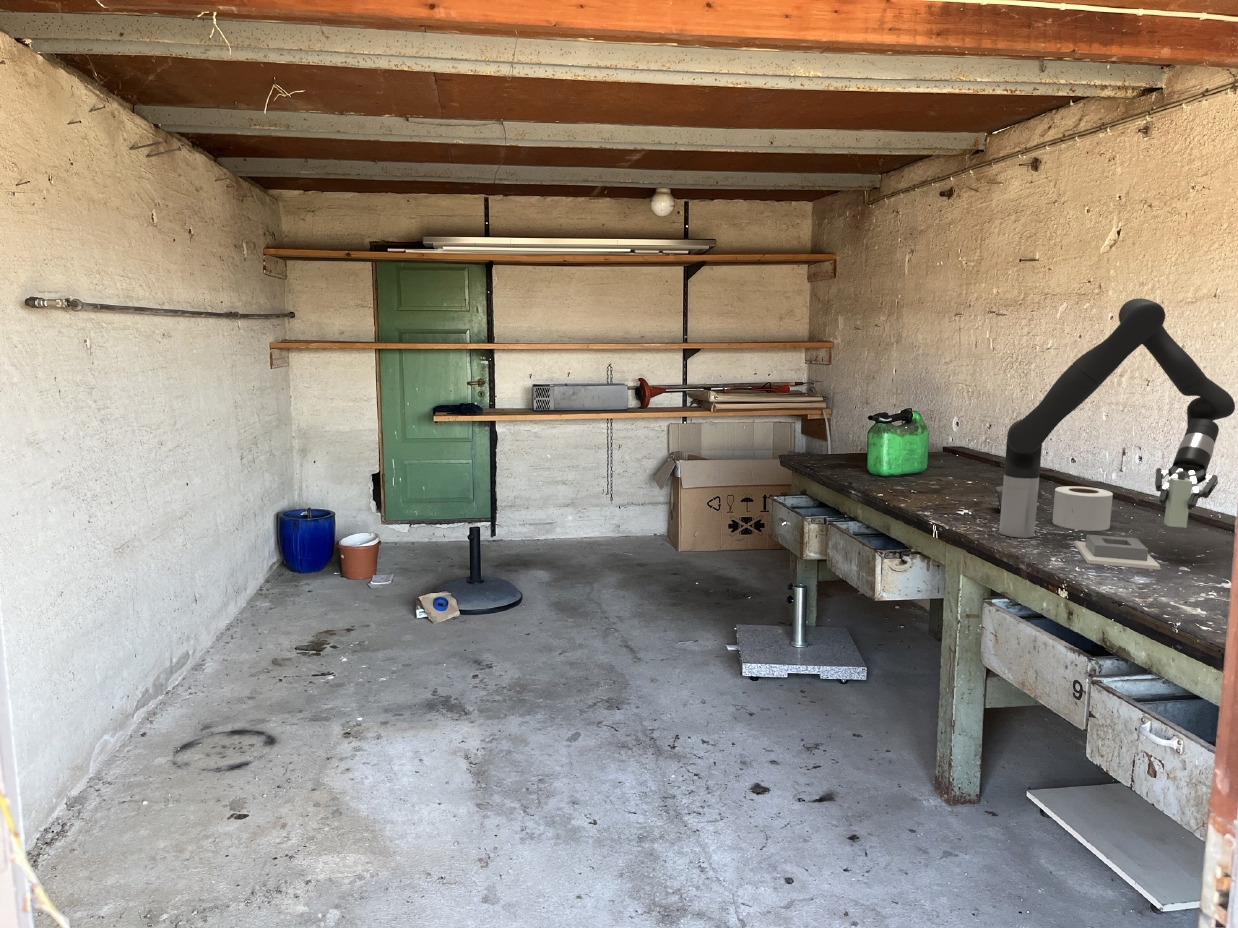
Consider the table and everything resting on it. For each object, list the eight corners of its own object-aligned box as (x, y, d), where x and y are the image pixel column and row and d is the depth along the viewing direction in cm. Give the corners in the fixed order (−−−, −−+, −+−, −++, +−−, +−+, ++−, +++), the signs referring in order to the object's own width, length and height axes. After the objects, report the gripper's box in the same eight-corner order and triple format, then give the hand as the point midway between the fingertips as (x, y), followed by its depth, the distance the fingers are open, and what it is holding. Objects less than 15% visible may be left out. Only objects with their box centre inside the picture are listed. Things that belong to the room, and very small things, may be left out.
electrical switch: (1016, 515, 274) (1015, 487, 273) (998, 516, 276) (998, 487, 274) (1012, 510, 283) (1012, 482, 282) (995, 510, 284) (995, 482, 283)
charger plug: (1164, 522, 223) (1170, 469, 221) (1181, 524, 222) (1188, 470, 220) (1168, 526, 219) (1175, 472, 217) (1186, 527, 218) (1193, 473, 216)
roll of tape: (1076, 532, 253) (1080, 496, 252) (1040, 520, 268) (1044, 486, 266) (1121, 530, 256) (1125, 494, 255) (1084, 518, 271) (1087, 485, 270)
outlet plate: (1074, 544, 238) (1075, 530, 237) (1140, 550, 233) (1141, 535, 232) (1087, 563, 219) (1089, 548, 219) (1159, 569, 214) (1161, 554, 214)
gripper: (1161, 442, 227) (1142, 492, 221) (1226, 448, 217) (1208, 501, 211) (1164, 459, 232) (1145, 509, 226) (1227, 467, 222) (1210, 519, 216)
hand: (1176, 505), depth 218 cm, fingers closed on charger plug, 5 cm apart
